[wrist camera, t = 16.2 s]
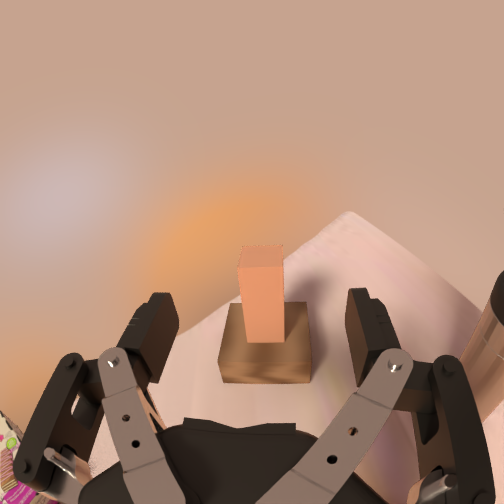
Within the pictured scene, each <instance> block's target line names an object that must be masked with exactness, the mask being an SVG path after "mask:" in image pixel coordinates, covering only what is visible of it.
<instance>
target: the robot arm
mask: <svg viewBox="0 0 504 504" xmlns="http://www.w3.org/2000/svg"><path fill="white" fill-rule="evenodd" d="M345 328H346V333H347V337H348V342H349V347H350V352H351V357H352V362H353V367H354V373H355V378H356V384H357V387H360V388H359V389H358V391H357V392H356V393H353V394H352V395H351V397H350V398H349V399H348V401H347V402H346V403H345V405H344V406H343V408H342V409H341V410H340V412H339V413H338V414H337V416H336V417H335V418H334V420H333V421H332V422H331V424H330V425H329V426H328V428H327V429H326V430H325V431H324V433H323V434H322V435H321V436H320V438H317V437H315V436H314V435H311V434H309V433H306V432H303V431H299V430H296V423H266V424H261V425H256V426H251V427H245V428H233V427H229V426H226V425H223V424H220V423H217V422H214V421H211V420H202V419H193V418H185V417H184V421H183V424H181V425H176V426H172V427H169V428H167V427H166V426H165V424H164V422H163V421H162V419H161V417H160V415H159V412H158V410H157V408H156V406H155V403H154V401H153V399H152V397H151V394H150V392H149V390H148V388H147V387H148V384H149V382H151V383H159V380H160V377H161V374H162V372H163V369H164V366H165V364H166V361H167V358H168V355H169V353H170V350H171V348H172V345H173V342H174V340H175V337H176V334H177V332H178V329H179V318H178V315H177V311H176V309H175V305H174V302H173V299H172V297H171V294H170V293H153V294H152V296H151V297H150V300H149V301H148V303H143V304H142V305H141V306H140V307H139V308H138V309H137V310H136V312H135V313H134V315H133V317H132V319H131V320H130V322H129V325H128V326H127V328H126V329H125V331H124V333H123V335H122V337H121V338H120V340H119V342H118V344H117V346H116V347H114V348H110V349H108V350H106V351H104V352H103V353H102V354H101V355H100V357H99V359H94V360H87V361H84V359H83V358H82V356H81V355H80V354H78V353H70V354H67V355H66V356H64V357H63V358H62V359H61V360H60V362H59V364H58V366H57V367H56V369H55V371H54V373H53V375H52V377H51V379H50V381H49V382H48V384H47V386H46V388H45V390H44V392H43V394H42V396H41V398H40V400H39V402H38V404H37V407H36V409H35V411H34V413H33V415H32V418H31V420H30V422H29V424H28V426H27V429H26V431H25V433H24V436H23V438H22V441H21V443H20V445H19V448H18V451H17V453H16V456H15V458H14V461H13V473H14V476H15V477H16V479H17V480H18V481H20V482H21V483H23V484H25V485H26V486H28V487H30V488H31V489H33V490H34V491H36V492H38V493H40V494H41V495H43V496H45V497H48V498H50V499H52V500H55V501H58V502H60V503H62V504H389V503H387V502H386V501H385V500H384V499H383V498H382V497H381V496H380V495H378V494H377V493H376V492H375V491H374V490H373V489H372V488H371V487H370V486H369V485H367V484H366V483H365V482H364V481H363V480H362V479H361V478H360V477H359V476H358V475H357V474H356V473H355V472H354V470H355V468H356V467H357V466H358V464H359V463H360V461H361V460H362V458H363V457H364V455H365V454H366V452H367V451H368V449H369V448H370V446H371V445H372V443H373V442H374V440H375V438H376V437H377V435H378V434H379V432H380V430H381V429H382V427H383V425H384V423H385V422H386V420H387V418H388V416H389V415H390V413H391V411H392V410H400V411H408V412H411V415H412V420H413V426H414V433H415V439H416V446H417V454H418V462H419V471H420V480H419V481H418V482H416V483H415V484H414V485H413V486H412V487H411V489H410V491H409V493H408V498H407V503H406V504H495V499H496V495H495V487H494V480H493V473H492V467H491V462H490V457H489V452H488V447H487V443H486V438H485V434H484V430H483V427H482V422H483V421H484V420H485V419H486V418H487V417H488V416H489V415H490V414H491V413H492V412H493V411H494V410H495V408H496V407H497V406H498V405H499V404H500V403H501V402H502V400H503V399H504V271H503V272H502V273H501V274H500V275H499V277H498V278H497V281H496V283H495V285H494V288H493V290H492V293H491V295H490V298H489V300H488V303H487V305H486V307H485V309H484V312H483V314H482V316H481V319H480V321H479V323H478V325H477V327H476V329H475V331H474V333H473V335H472V337H471V339H470V341H469V343H468V345H467V346H466V348H465V350H464V352H463V354H462V355H461V357H460V359H459V360H458V359H457V358H455V357H453V356H450V355H442V356H440V357H438V358H437V359H436V360H435V361H434V363H426V362H419V361H415V360H412V358H411V356H410V355H409V354H408V353H407V352H405V351H404V350H402V349H401V347H400V344H399V341H398V338H397V336H396V333H395V330H394V328H393V325H392V323H391V320H390V317H389V316H388V312H387V309H386V307H385V305H384V304H383V303H382V302H381V301H380V300H379V299H378V298H375V299H370V296H369V294H368V291H367V289H366V288H351V289H349V291H348V298H347V305H346V313H345ZM77 394H78V395H79V397H80V398H79V400H78V402H77V405H76V407H75V410H74V412H73V414H71V408H72V405H73V403H74V401H75V399H76V396H77ZM104 413H105V416H106V419H107V423H108V426H109V430H110V433H111V436H112V439H113V442H114V445H115V448H116V451H117V454H118V457H119V459H120V461H118V462H117V463H116V464H114V465H113V466H111V467H110V468H108V469H107V470H105V471H104V472H102V473H101V474H99V475H98V476H96V477H95V478H93V477H92V475H91V474H90V468H89V466H88V461H89V458H90V455H91V451H92V448H93V445H94V442H95V439H96V436H97V433H98V430H99V427H100V424H101V421H102V419H103V416H104Z"/></svg>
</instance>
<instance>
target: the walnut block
mask: <svg viewBox="0 0 504 504" xmlns="http://www.w3.org/2000/svg"><path fill="white" fill-rule="evenodd" d="M218 365H219V369H220V372H221V376H222V379H223V383H244V384H293V383H310V374H311V365H312V356H311V344H310V334H309V323H308V314H307V304H306V302H284V342H274V343H247V337H246V330H245V322H244V315H243V308H242V303H230V307H229V311H228V316H227V320H226V325H225V329H224V334H223V338H222V343H221V347H220V352H219V357H218Z"/></svg>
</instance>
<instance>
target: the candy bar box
mask: <svg viewBox="0 0 504 504" xmlns="http://www.w3.org/2000/svg"><path fill="white" fill-rule="evenodd" d="M23 436H24V434H23V433H22V432H21V430H20V429H19V428H18V426H17V425H16V424H15V423H13V422H12V421H11V420H10V419H9V418H8V417H7V416H6V415H5V414H3V413H2V412H1V411H0V504H59V503H60V502H58V501H55V500H52V499H50V498H48V497H45V496H43V495H41V494H40V493H38V492H36V491H34V490H33V489H31V488H30V487H28V486H26V485H25V484H23V483H21V482H20V481H18V480H17V479H16V477H15V476H14V473H13V461H14V458H15V456H16V453H17V451H18V448H19V445H20V443H21V441H22V438H23Z"/></svg>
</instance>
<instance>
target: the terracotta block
mask: <svg viewBox="0 0 504 504" xmlns="http://www.w3.org/2000/svg"><path fill="white" fill-rule="evenodd" d="M237 270H238V277H239V285H240V293H241V300H242V308H243V315H244V322H245V330H246V337H247V343H274V342H284V275H283V246H282V245H271V246H270V245H269V246H243V247H242V251H241V254H240V259H239V263H238V267H237Z"/></svg>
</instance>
